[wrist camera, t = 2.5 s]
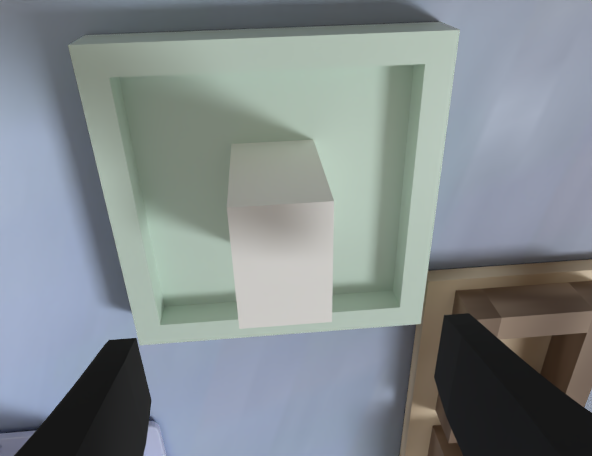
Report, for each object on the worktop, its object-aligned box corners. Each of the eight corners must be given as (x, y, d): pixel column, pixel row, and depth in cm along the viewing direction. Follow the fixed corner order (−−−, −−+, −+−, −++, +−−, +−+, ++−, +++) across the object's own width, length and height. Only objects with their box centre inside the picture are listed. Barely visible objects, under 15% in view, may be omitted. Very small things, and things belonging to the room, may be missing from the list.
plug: (240, 246, 20) (239, 328, 16) (231, 143, 18) (226, 207, 14) (314, 241, 21) (332, 322, 16) (313, 139, 18) (334, 201, 14)
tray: (147, 317, 23) (139, 345, 21) (84, 35, 17) (67, 45, 15) (409, 298, 23) (420, 323, 22) (440, 21, 17) (459, 30, 16)
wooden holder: (393, 505, 32) (405, 552, 29) (423, 271, 23) (444, 311, 20) (531, 491, 32) (554, 536, 30) (614, 257, 23) (656, 294, 21)
